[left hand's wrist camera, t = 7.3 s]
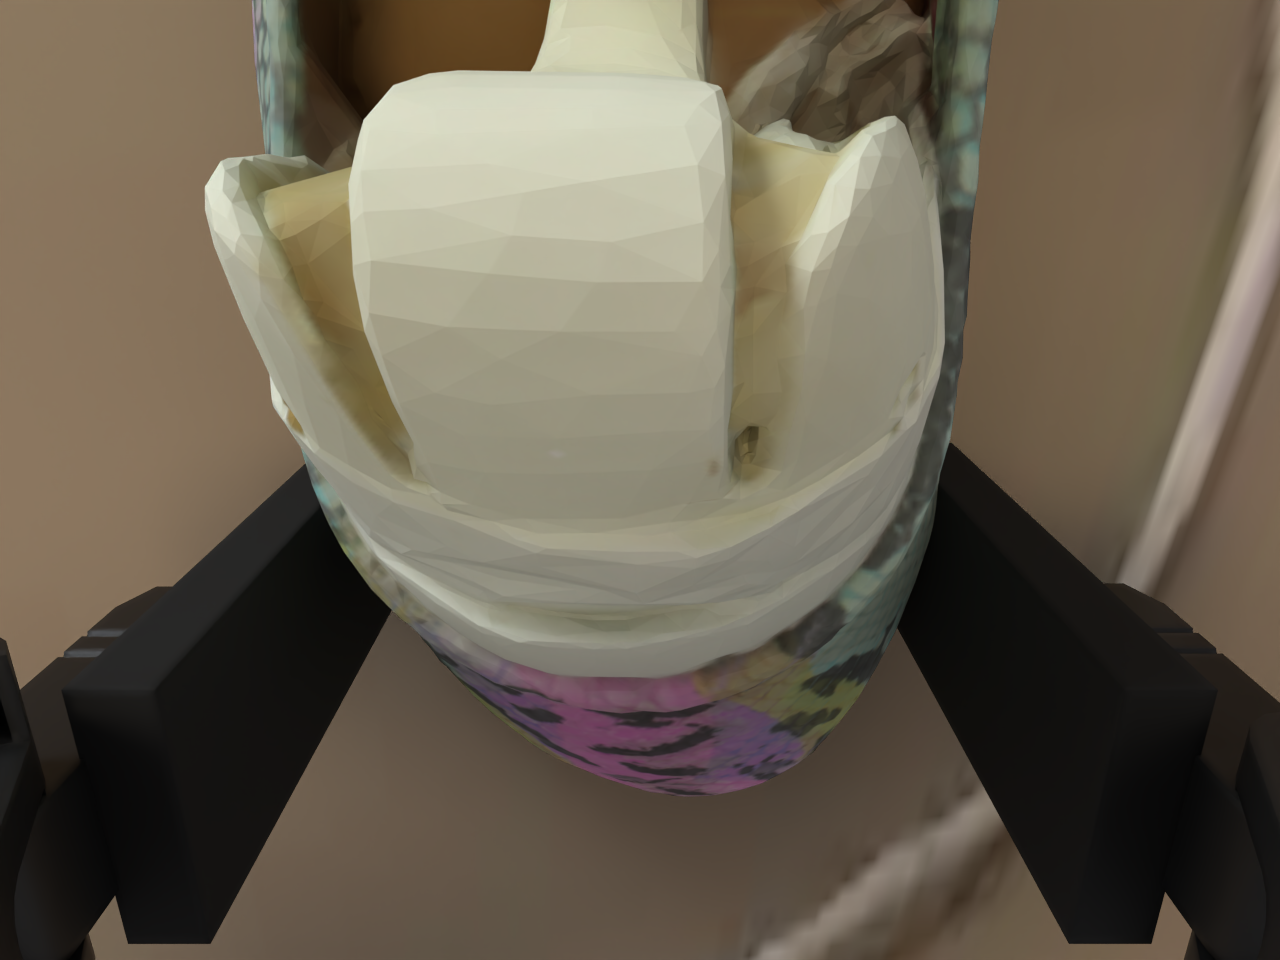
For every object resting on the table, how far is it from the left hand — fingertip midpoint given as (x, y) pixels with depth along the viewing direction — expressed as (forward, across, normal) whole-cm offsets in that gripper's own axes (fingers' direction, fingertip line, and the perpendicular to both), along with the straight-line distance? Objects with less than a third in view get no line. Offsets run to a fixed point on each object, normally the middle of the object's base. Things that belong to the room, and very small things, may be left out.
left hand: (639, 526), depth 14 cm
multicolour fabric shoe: (+1, 0, -8) cm, 8 cm away
